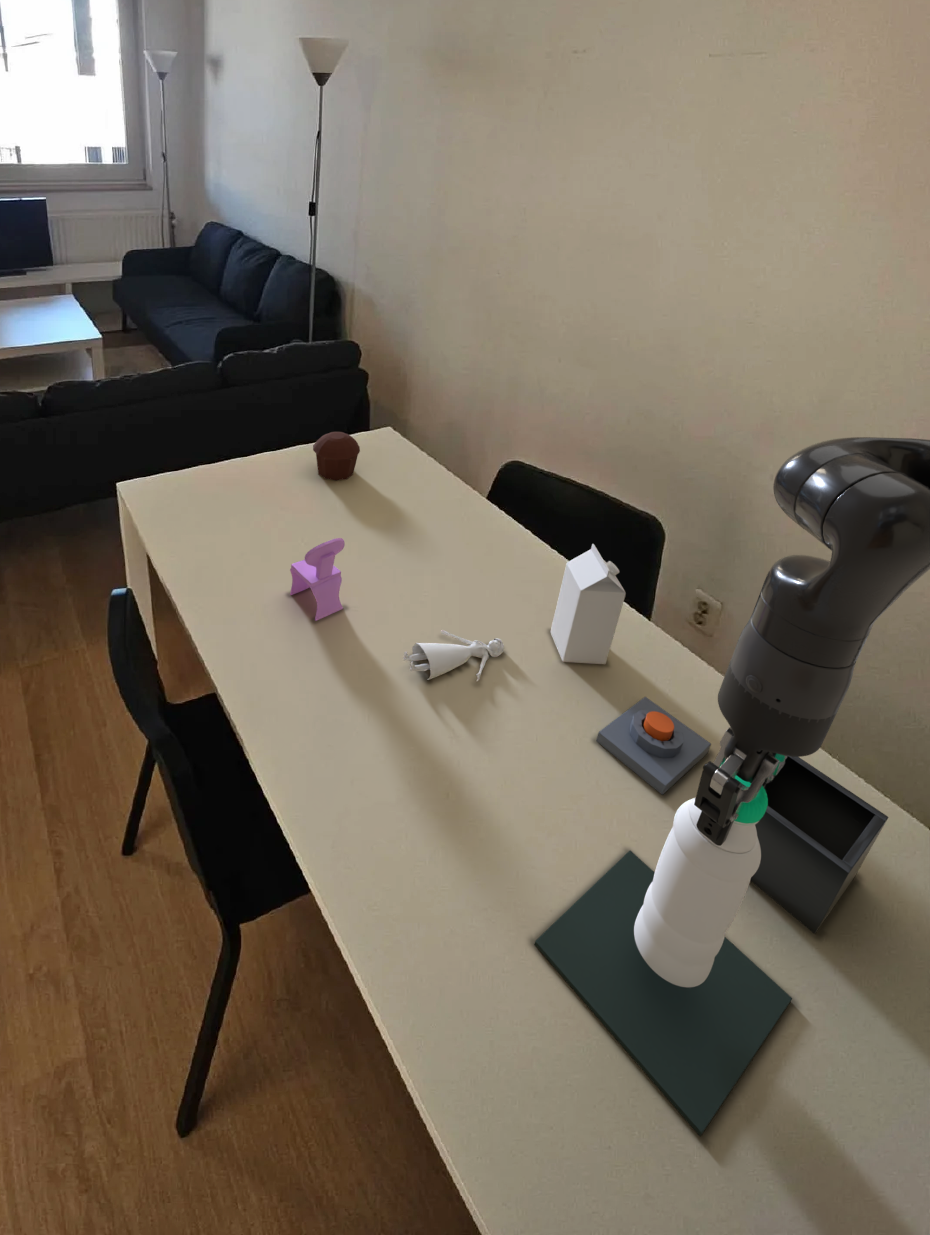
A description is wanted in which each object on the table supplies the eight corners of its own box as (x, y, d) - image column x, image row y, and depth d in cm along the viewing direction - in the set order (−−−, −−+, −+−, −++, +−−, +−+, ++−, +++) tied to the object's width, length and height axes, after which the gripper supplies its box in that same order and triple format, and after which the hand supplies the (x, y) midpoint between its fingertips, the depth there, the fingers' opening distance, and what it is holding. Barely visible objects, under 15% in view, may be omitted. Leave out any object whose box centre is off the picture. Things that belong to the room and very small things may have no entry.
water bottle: (709, 937, 71) (784, 771, 61) (706, 1007, 66) (788, 836, 56) (636, 900, 75) (696, 735, 65) (628, 963, 69) (692, 794, 59)
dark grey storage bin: (753, 803, 90) (780, 744, 86) (853, 878, 82) (888, 816, 77) (710, 850, 84) (736, 789, 80) (813, 936, 76) (849, 873, 71)
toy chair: (320, 581, 129) (324, 514, 123) (348, 608, 122) (354, 538, 116) (283, 596, 124) (285, 527, 118) (310, 625, 118) (314, 553, 112)
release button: (652, 716, 98) (655, 707, 98) (676, 733, 96) (679, 724, 95) (638, 727, 96) (641, 718, 96) (662, 745, 94) (665, 736, 93)
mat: (628, 855, 83) (630, 849, 83) (789, 1003, 70) (792, 998, 69) (533, 946, 74) (535, 940, 73) (699, 1138, 60) (702, 1133, 60)
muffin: (338, 456, 175) (340, 421, 171) (367, 474, 168) (370, 437, 164) (302, 469, 169) (303, 433, 165) (331, 488, 161) (333, 450, 157)
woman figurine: (393, 626, 112) (486, 612, 118) (389, 648, 113) (481, 632, 120) (426, 679, 102) (526, 660, 108) (421, 701, 103) (520, 681, 109)
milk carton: (562, 663, 112) (585, 569, 104) (549, 633, 119) (571, 542, 111) (605, 666, 112) (632, 572, 104) (590, 635, 118) (614, 544, 111)
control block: (641, 706, 104) (648, 687, 103) (707, 754, 97) (715, 734, 95) (595, 742, 98) (601, 722, 96) (661, 797, 91) (669, 776, 89)
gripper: (796, 754, 49) (728, 902, 55) (872, 672, 56) (805, 811, 63) (692, 685, 54) (642, 827, 61) (774, 619, 62) (722, 751, 69)
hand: (725, 818), depth 62 cm, fingers closed on water bottle, 5 cm apart
